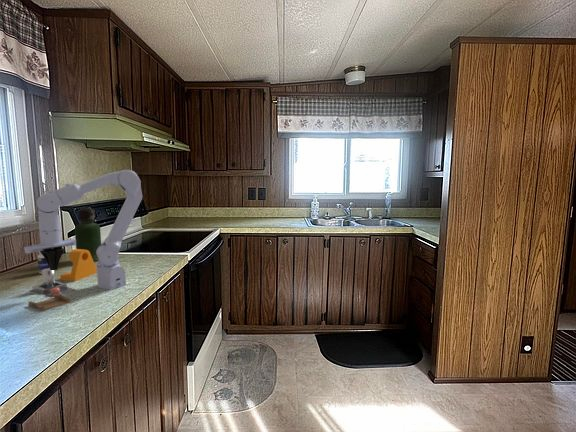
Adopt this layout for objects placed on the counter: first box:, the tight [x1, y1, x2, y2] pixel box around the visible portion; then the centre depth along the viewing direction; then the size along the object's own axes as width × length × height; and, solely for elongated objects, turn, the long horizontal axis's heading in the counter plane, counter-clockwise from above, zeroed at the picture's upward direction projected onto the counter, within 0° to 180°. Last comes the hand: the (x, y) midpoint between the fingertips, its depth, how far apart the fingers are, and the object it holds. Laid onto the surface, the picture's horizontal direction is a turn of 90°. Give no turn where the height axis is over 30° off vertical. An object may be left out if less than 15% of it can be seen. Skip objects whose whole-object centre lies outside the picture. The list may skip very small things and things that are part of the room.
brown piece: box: [27, 294, 71, 312], centre depth 102 cm, size 8×8×2 cm
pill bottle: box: [37, 251, 49, 275], centre depth 137 cm, size 6×6×10 cm
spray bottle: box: [74, 207, 102, 262], centre depth 155 cm, size 10×10×25 cm
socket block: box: [31, 280, 77, 299], centre depth 114 cm, size 14×8×2 cm, turn 61°
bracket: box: [59, 248, 97, 282], centre depth 129 cm, size 11×7×12 cm, turn 169°
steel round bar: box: [41, 268, 57, 289], centre depth 115 cm, size 4×4×7 cm
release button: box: [50, 287, 61, 296], centre depth 110 cm, size 2×2×2 cm
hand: (53, 269), depth 109 cm, fingers closed
